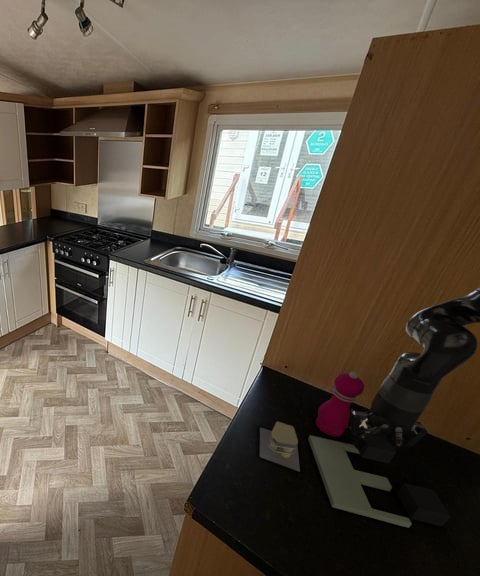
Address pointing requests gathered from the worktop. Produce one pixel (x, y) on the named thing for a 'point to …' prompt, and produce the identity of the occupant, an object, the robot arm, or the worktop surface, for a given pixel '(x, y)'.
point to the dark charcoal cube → (377, 448)
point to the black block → (423, 504)
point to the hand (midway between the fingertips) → (370, 449)
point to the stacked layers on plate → (280, 445)
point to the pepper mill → (339, 404)
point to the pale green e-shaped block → (349, 480)
